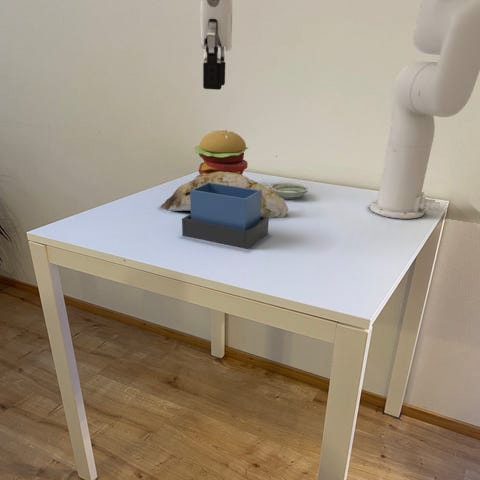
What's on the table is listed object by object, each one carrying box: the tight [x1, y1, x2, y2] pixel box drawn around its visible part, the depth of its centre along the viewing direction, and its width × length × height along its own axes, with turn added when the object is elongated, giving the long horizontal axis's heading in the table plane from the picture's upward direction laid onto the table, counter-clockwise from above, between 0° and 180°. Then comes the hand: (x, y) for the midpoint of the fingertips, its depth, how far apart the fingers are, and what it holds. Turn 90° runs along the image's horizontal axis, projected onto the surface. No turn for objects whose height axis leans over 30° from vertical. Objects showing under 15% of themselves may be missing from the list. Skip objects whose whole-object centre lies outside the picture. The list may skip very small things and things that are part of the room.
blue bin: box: [190, 182, 262, 230], centre depth 94 cm, size 12×7×9 cm, turn 64°
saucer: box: [270, 182, 309, 200], centre depth 123 cm, size 10×10×2 cm
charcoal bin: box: [181, 213, 270, 250], centre depth 96 cm, size 15×10×4 cm, turn 64°
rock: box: [160, 172, 289, 219], centre depth 110 cm, size 16×10×30 cm
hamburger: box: [193, 129, 249, 175], centre depth 124 cm, size 16×14×15 cm
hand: (214, 86), depth 88 cm, fingers open, 9 cm apart
